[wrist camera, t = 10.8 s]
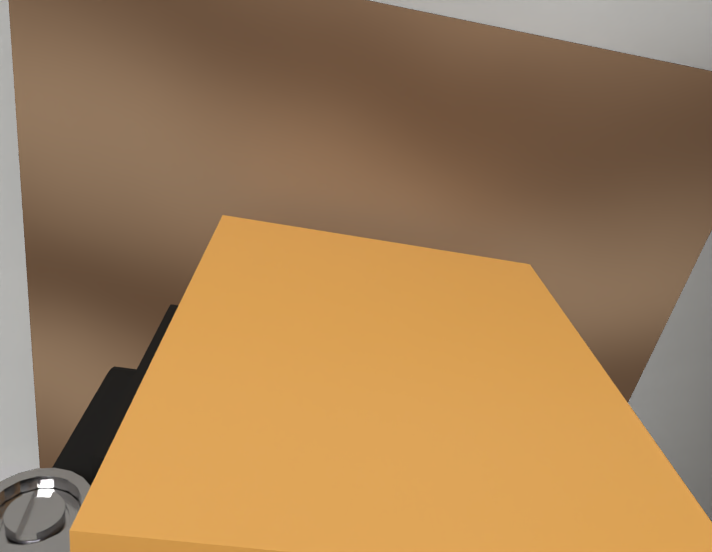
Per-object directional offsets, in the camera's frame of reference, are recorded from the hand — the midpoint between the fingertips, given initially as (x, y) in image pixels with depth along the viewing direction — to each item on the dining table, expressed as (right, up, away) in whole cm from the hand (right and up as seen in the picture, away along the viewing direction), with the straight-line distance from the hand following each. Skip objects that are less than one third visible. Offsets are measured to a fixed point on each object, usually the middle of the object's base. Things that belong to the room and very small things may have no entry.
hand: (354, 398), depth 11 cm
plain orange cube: (0, 0, +1) cm, 1 cm away
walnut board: (0, +2, +3) cm, 4 cm away
